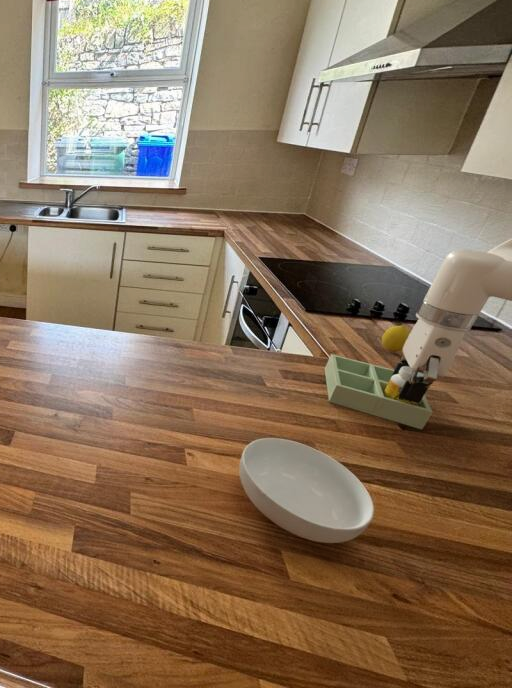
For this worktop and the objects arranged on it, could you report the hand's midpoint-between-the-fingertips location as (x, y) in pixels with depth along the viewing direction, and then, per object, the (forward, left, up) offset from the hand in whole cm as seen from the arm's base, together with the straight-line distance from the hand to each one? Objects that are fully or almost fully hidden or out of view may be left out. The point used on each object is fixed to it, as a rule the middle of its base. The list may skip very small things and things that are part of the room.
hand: (404, 389), depth 84 cm
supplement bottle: (0, 0, -5) cm, 5 cm away
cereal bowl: (+19, +41, -6) cm, 46 cm away
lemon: (-4, -33, -6) cm, 33 cm away
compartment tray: (+4, -4, -6) cm, 8 cm away
